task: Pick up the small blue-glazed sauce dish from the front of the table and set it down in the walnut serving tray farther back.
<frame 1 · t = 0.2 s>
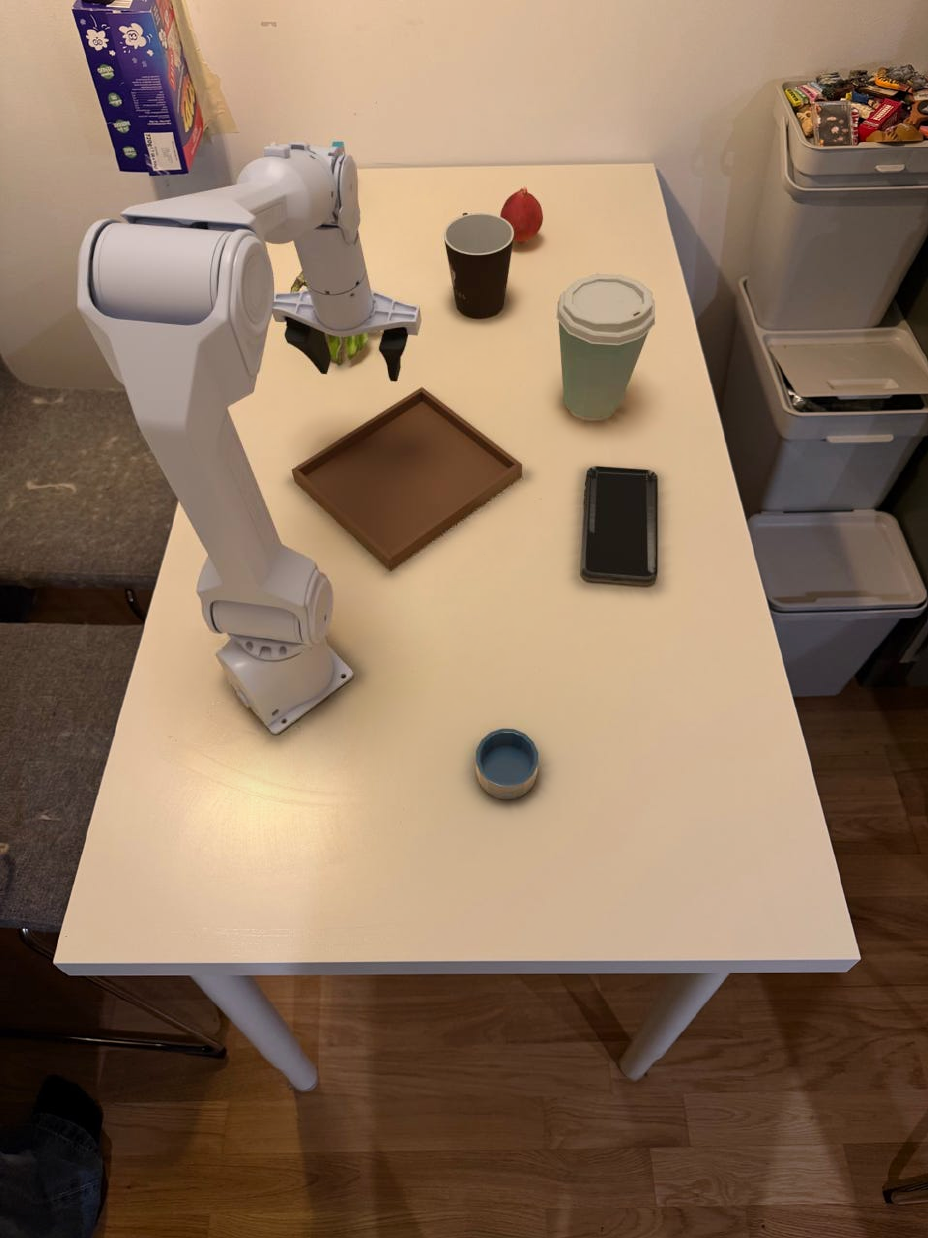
hand: (360, 370, 89), 10 cm above the table, tool pointing down, fingers open, 7 cm apart
tray: (407, 479, 95), on the table
dish: (506, 771, 76), on the table
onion: (520, 243, 118), on the table
passion flower: (343, 334, 109), on the table
phone: (618, 527, 90), on the table
teal picture box: (339, 205, 125), on the table
coffee mug: (482, 297, 112), on the table
disposable coffee cup: (593, 403, 101), on the table
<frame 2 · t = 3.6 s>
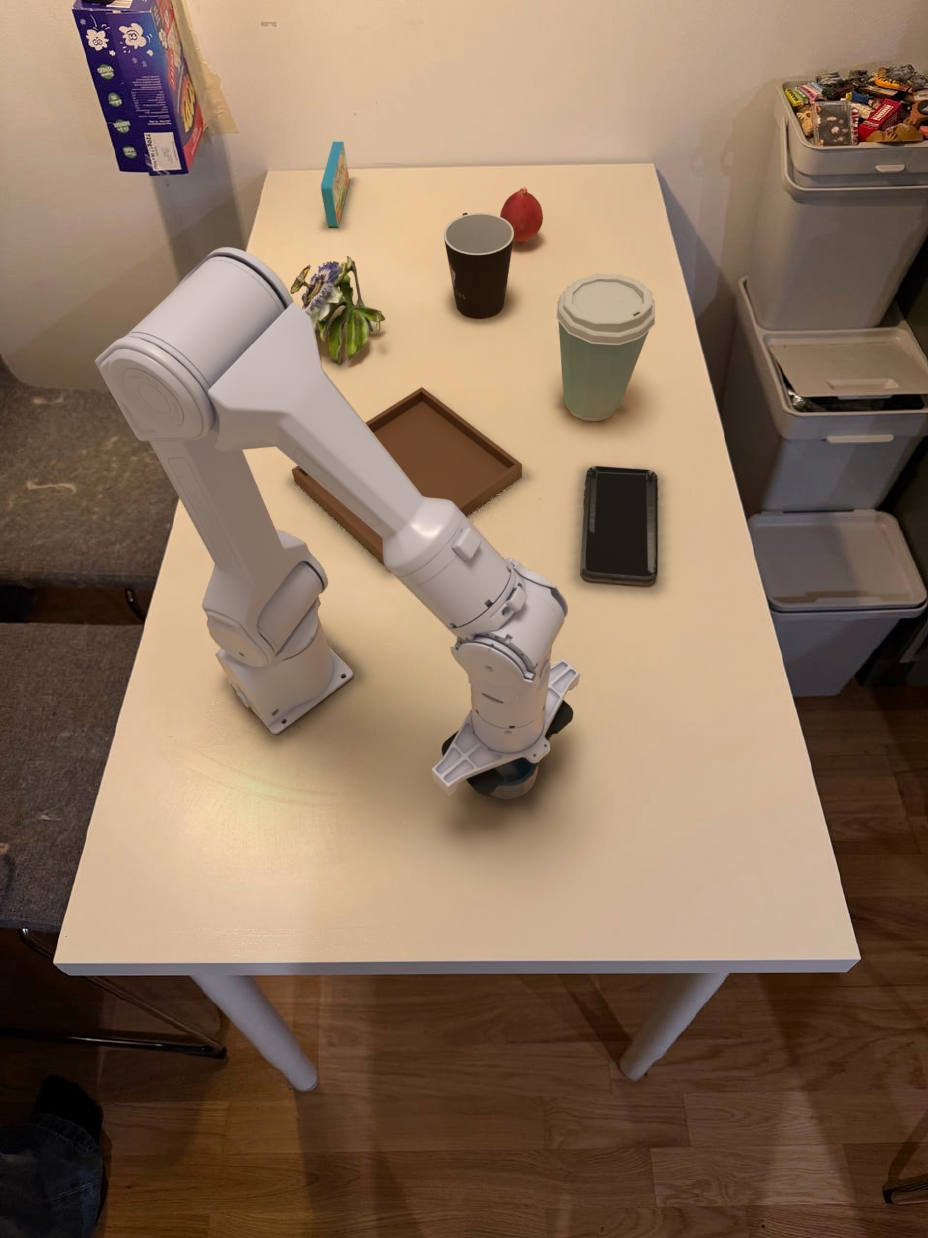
hand: (506, 765, 74), 1 cm above the table, tool pointing down, fingers closed on dish, 5 cm apart
dish: (506, 770, 76), on the table, touching gripper
everything else where it was.
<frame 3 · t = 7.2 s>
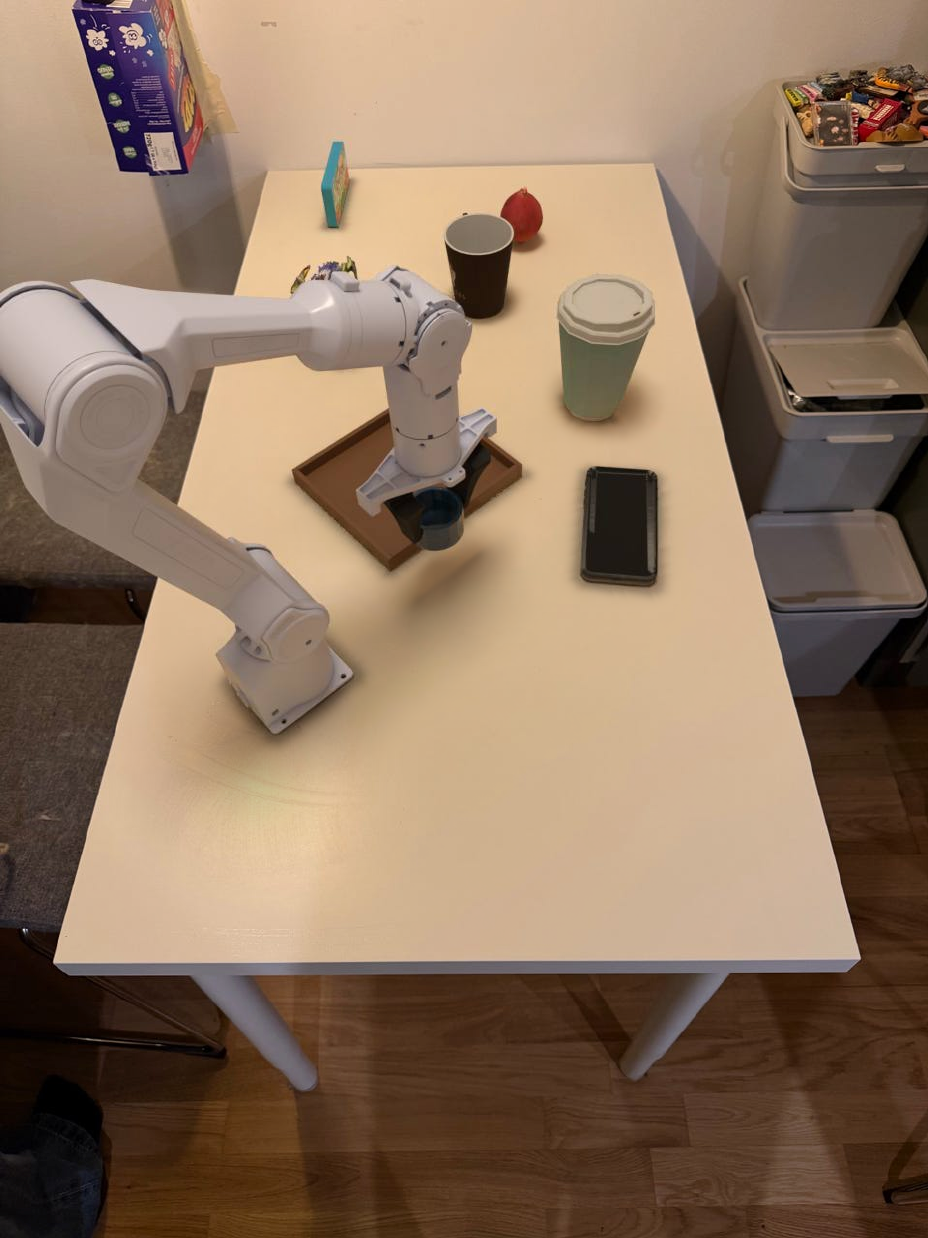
hand: (434, 519, 81), 8 cm above the table, tool pointing down, fingers closed on dish, 5 cm apart
dish: (436, 529, 82), point 7 cm above the table, touching gripper
everything else where it was.
when the fingers open (2 cm above the table, at t = 10.6 s): dish stays where it is, resting on tray.
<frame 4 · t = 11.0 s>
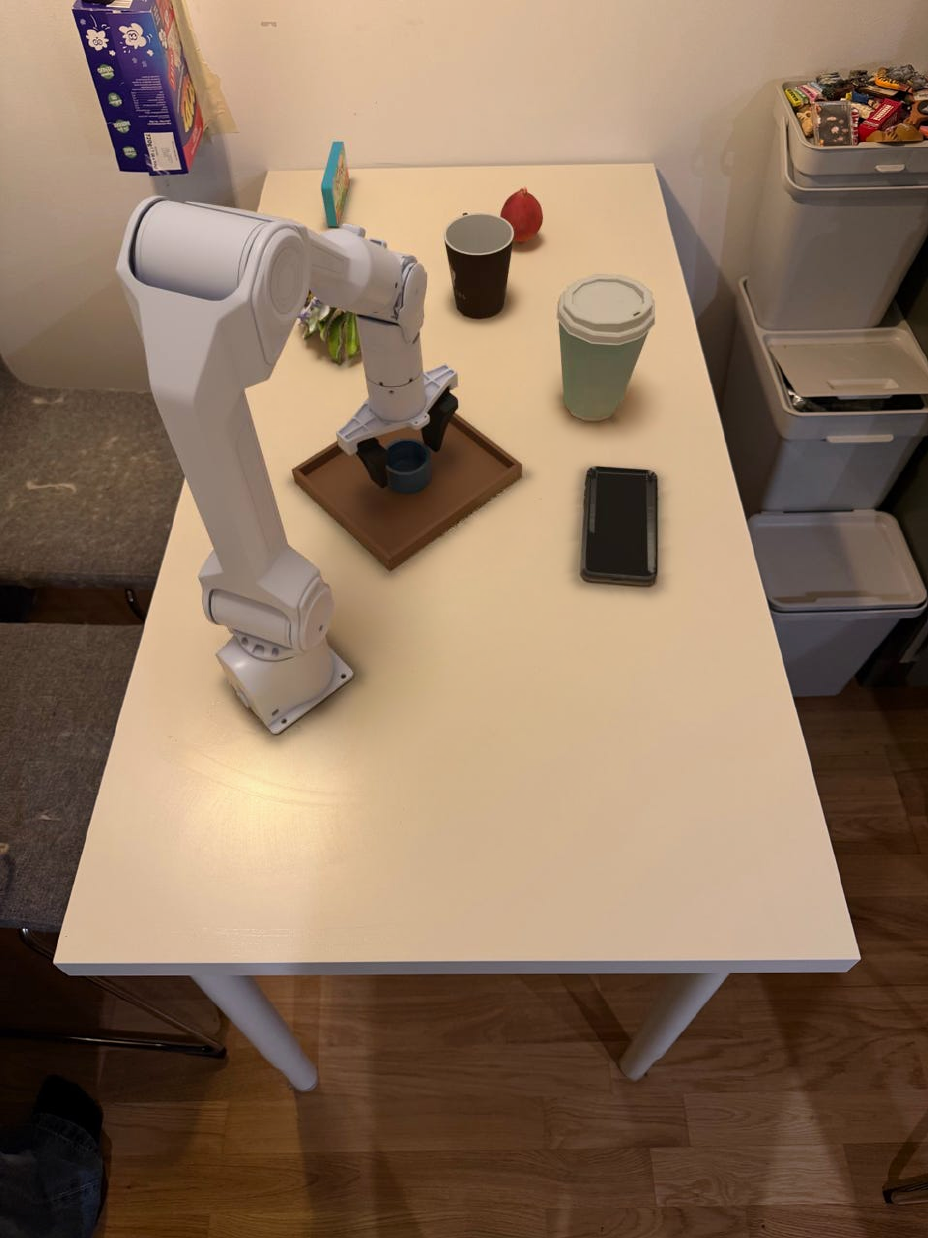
hand: (406, 464, 93), 2 cm above the table, tool pointing down, fingers open, 7 cm apart
dish: (408, 475, 94), resting on tray
everything else where it was.
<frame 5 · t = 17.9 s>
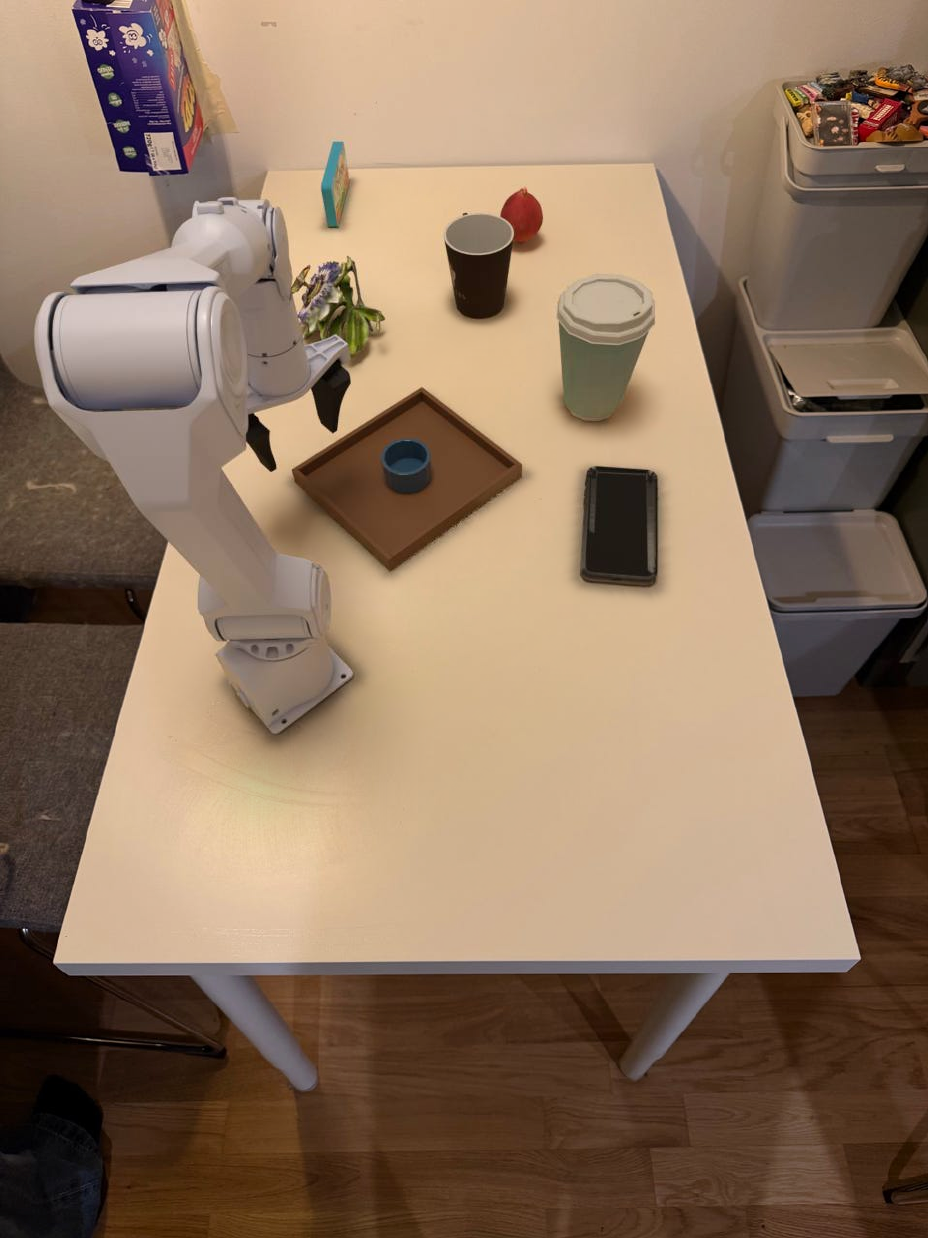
hand: (299, 445, 85), 9 cm above the table, tool pointing down, fingers open, 7 cm apart
nothing on the table moved.
at the end: dish inside the target area in the tray (0.1 cm from its centre), point 0.5 cm above the tray's base; dish tilted 0°; the gripper is holding nothing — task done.
